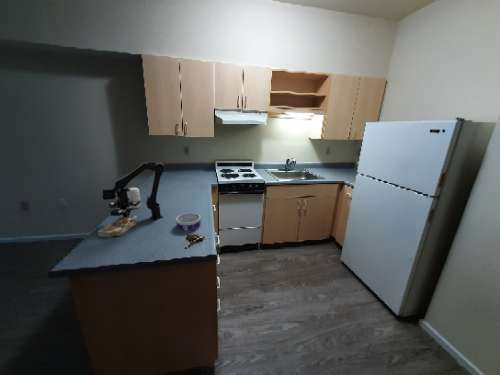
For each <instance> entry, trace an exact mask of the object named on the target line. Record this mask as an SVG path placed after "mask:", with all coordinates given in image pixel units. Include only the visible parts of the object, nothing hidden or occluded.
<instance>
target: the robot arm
mask: <svg viewBox="0 0 500 375" xmlns="http://www.w3.org/2000/svg"><path fill="white" fill-rule="evenodd" d="M146 170H148V171H149V170H150V171H153V172H154V176H153V180H152V186H151V191H150V194H149V196H148V195H147V196H146V197H147V199H146V201H145V202H146V203H145V205H146V208H147V209H148V210H150V213H151V216H150V217H149V218H150V219H152V220H154V221H156V220H159V219H162V218H164V216H163V215H162V213H161V208H160V207H161V206H160V203H158V202H157V195H158V189H159V185H160V181H161V177H162V175H163V173H164V171H165V165H164V164H163V163H162V162H160V161H158V162H146V161H144V162H142V163H141V164H140V165H139V166H137V167H136V168H135V169H134V170H132V171H131V172H129V173H128V174H126V175H123V176H122V177H119V178H117V179H116V180H115V183H114V186H113V188H104V189H102V200H103V201H109V200H115V199H116V198H117V200H116V201H114V202H110V203H108V207H109V209H112V210H111V211H110V212H109V213H110V216H115V217H121V216H123V217H127V219H128V218H130V214H131V212H132V211H133V209H132V208H130V206H132V205H134V206H137V205H138V203H137V202H136V201H129V200H130V198H128V194H127V191H130V189H129V188H130V187H128V185H129V183H130V182H131V181H132V180H133V179H134V178H136V177H138V176H140V174H142V173H143V172H144V171H146Z"/></svg>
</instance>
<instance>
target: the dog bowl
mask: <svg viewBox="0 0 500 375" xmlns="http://www.w3.org/2000/svg"><path fill="white" fill-rule="evenodd" d="M175 223H176V227H177V229H178V230H179V231H180V232H181V231H182V232H192V231H195V230H197V229H199V228H200V227H201V223H202V222H201V215H200V214H198V213H195V212H186V213H185V212H184V213H182V214H180V215H178V216H176V218H175Z"/></svg>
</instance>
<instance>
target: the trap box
mask: <svg viewBox="0 0 500 375" xmlns="http://www.w3.org/2000/svg"><path fill="white" fill-rule="evenodd" d="M121 217H123V215H121ZM136 225H138V217H137V215H134V216H133V217H129V218H128V223H127V224H125V225H121V227H117V226H116V224H115V220H114V221H113V222H111V223H109V224H108V225H106V226H105V227H103V228H101V229H100V230H98V231H97V235H98V237H103V238H113V237H121V236H123V235H125V233H127V232H128V231H130V230H131V229H132V228H133V227H135V226H136Z"/></svg>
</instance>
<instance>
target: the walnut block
mask: <svg viewBox="0 0 500 375" xmlns="http://www.w3.org/2000/svg"><path fill="white" fill-rule="evenodd" d="M114 221H115V224H116V226H117V227H121V225H125V224H127V223H128V219H127V217H122V216H119V218H117V219H115V220H114Z"/></svg>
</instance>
